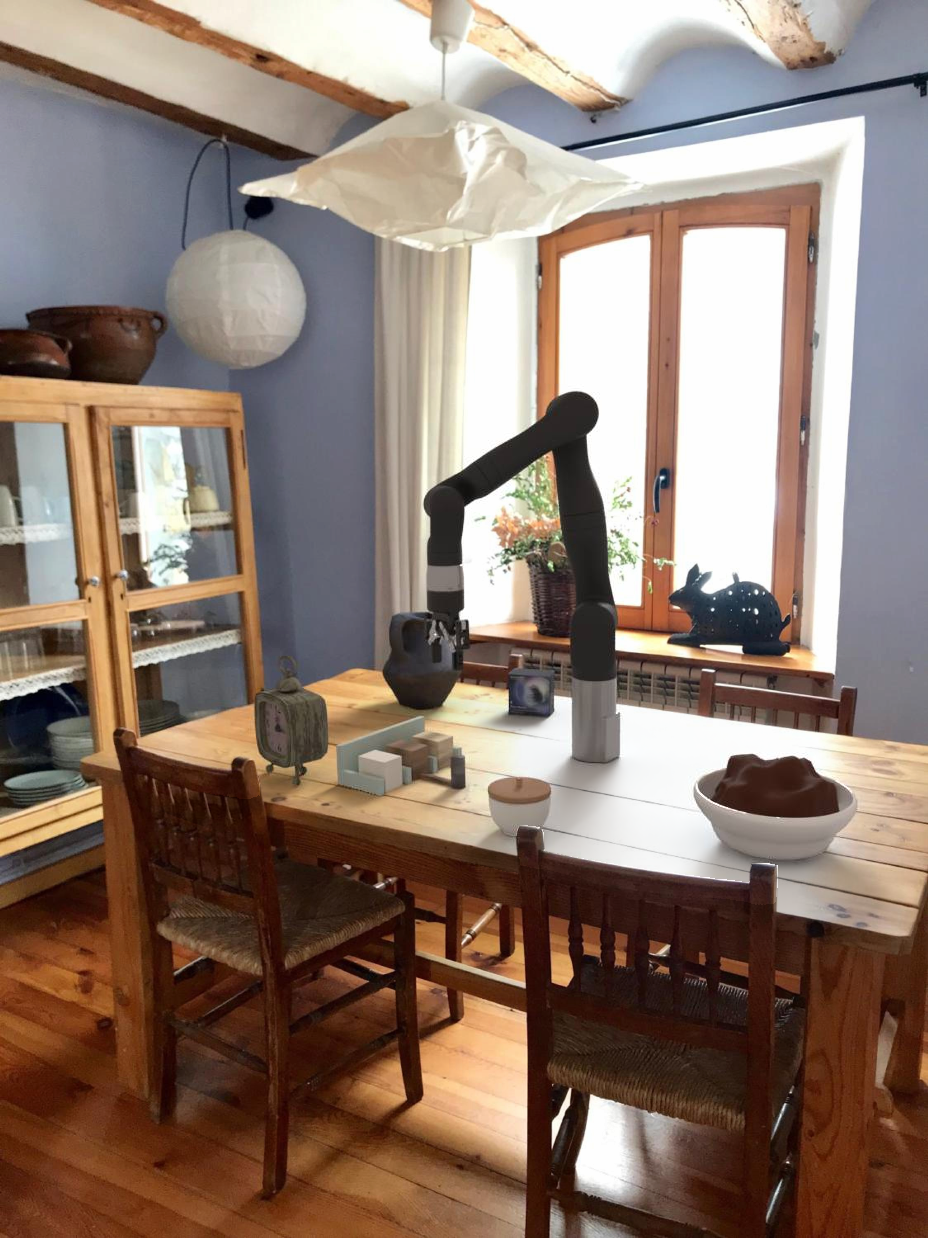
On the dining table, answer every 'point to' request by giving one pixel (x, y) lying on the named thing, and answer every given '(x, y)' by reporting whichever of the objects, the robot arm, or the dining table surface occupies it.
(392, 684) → the pitcher
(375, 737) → the lane shelf
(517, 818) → the lidded jar
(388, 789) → the cream block
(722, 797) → the bowl of brown mass
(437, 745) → the oak block
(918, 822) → the dining table surface
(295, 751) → the tabletop clock
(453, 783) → the tow block
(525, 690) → the small box
